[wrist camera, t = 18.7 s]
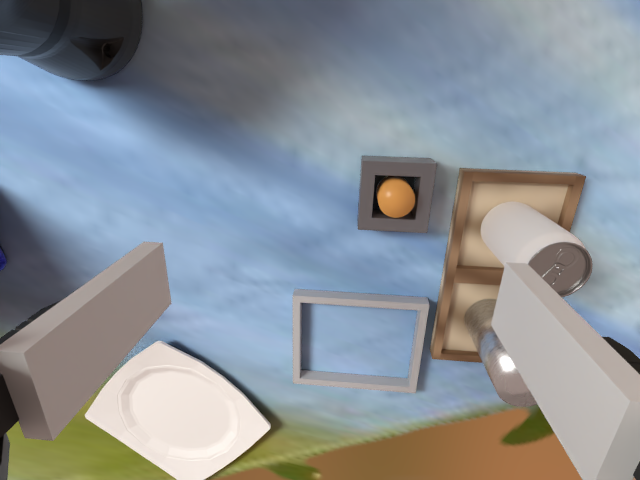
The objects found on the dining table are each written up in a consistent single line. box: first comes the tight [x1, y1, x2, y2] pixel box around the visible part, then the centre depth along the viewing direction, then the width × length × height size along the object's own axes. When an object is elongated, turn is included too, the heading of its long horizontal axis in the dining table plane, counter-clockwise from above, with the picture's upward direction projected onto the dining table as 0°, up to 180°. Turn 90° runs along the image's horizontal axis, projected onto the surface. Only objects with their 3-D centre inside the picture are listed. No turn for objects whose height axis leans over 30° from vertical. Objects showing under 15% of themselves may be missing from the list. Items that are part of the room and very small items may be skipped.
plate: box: [85, 341, 271, 480], centre depth 61 cm, size 24×24×3 cm
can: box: [481, 201, 592, 297], centre depth 39 cm, size 6×6×12 cm
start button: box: [376, 176, 415, 218], centre depth 42 cm, size 4×4×4 cm
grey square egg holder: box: [357, 156, 437, 233], centre depth 43 cm, size 8×8×4 cm
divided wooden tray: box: [430, 168, 586, 363], centre depth 47 cm, size 26×13×2 cm, turn 179°
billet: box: [464, 299, 537, 407], centre depth 44 cm, size 6×6×12 cm
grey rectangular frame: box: [293, 289, 429, 393], centre depth 52 cm, size 15×18×2 cm
